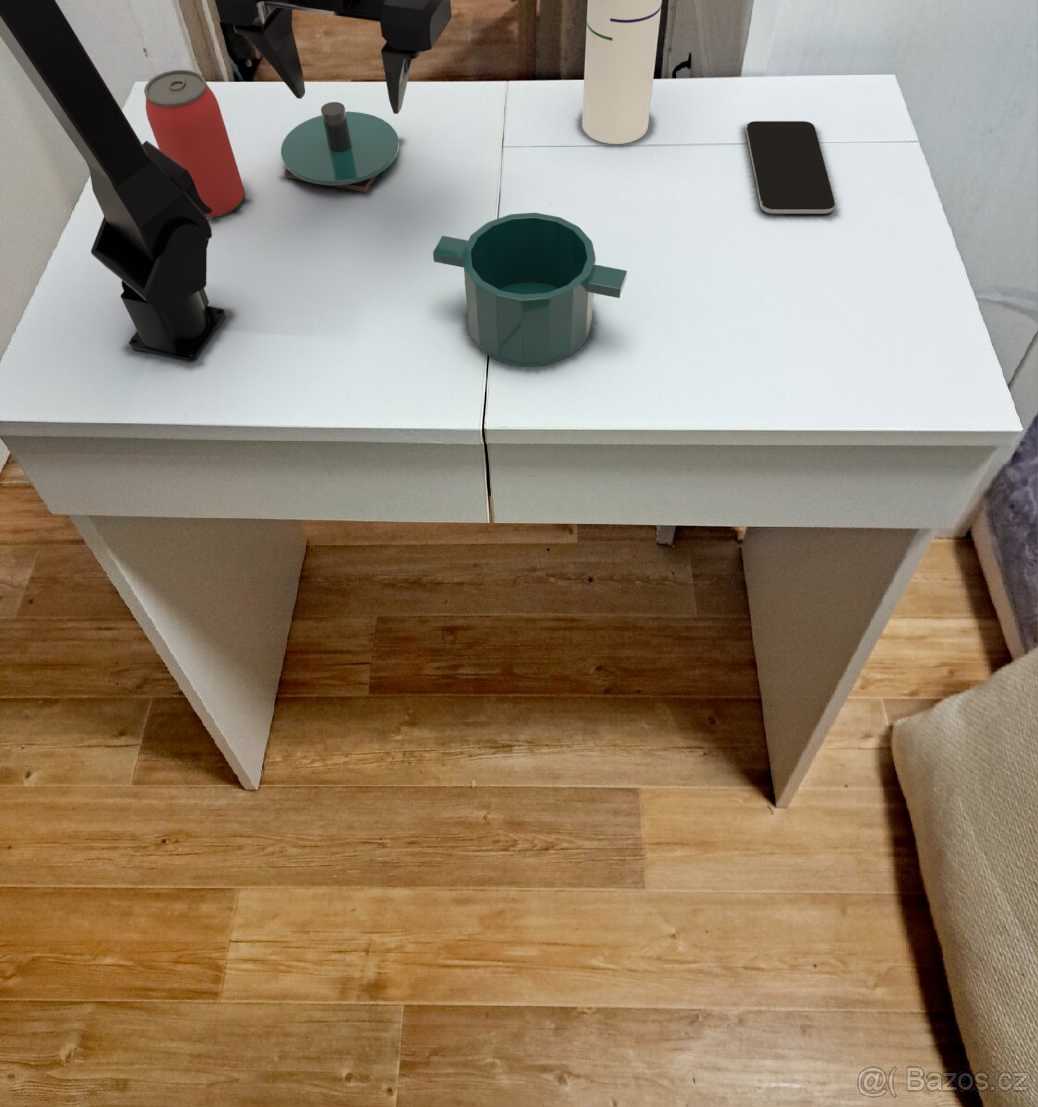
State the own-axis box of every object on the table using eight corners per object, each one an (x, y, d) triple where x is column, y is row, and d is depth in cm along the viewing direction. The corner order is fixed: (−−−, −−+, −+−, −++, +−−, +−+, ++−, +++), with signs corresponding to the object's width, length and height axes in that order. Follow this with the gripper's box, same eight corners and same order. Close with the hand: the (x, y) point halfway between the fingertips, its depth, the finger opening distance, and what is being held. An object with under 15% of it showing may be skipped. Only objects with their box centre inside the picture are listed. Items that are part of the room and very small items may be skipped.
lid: (373, 199, 92) (365, 153, 88) (263, 179, 95) (250, 133, 90) (416, 131, 99) (411, 85, 94) (312, 113, 101) (302, 67, 97)
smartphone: (813, 120, 98) (837, 208, 90) (812, 126, 99) (835, 214, 91) (745, 120, 99) (762, 208, 90) (743, 126, 99) (760, 214, 91)
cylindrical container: (643, 147, 98) (673, -129, 77) (577, 140, 98) (588, -135, 77) (651, 109, 101) (682, -163, 80) (587, 102, 102) (601, -169, 81)
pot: (602, 384, 79) (608, 317, 73) (423, 346, 82) (413, 278, 76) (632, 300, 85) (639, 231, 78) (463, 266, 88) (458, 198, 81)
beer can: (253, 182, 95) (220, 67, 85) (236, 222, 92) (199, 108, 82) (191, 179, 96) (151, 64, 86) (172, 219, 92) (127, 104, 82)
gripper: (466, -128, 72) (476, 71, 85) (247, -152, 75) (289, 43, 88) (418, -64, 66) (437, 139, 79) (183, -93, 69) (238, 107, 82)
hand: (349, 103), depth 82 cm, fingers open, 9 cm apart
